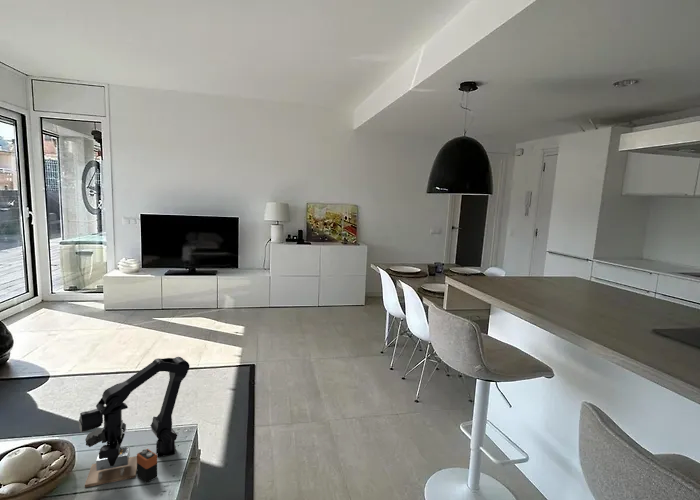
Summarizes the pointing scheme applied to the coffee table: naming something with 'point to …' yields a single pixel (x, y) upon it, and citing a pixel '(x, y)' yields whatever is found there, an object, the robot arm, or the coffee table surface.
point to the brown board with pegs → (112, 473)
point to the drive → (120, 461)
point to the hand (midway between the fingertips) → (113, 460)
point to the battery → (146, 465)
